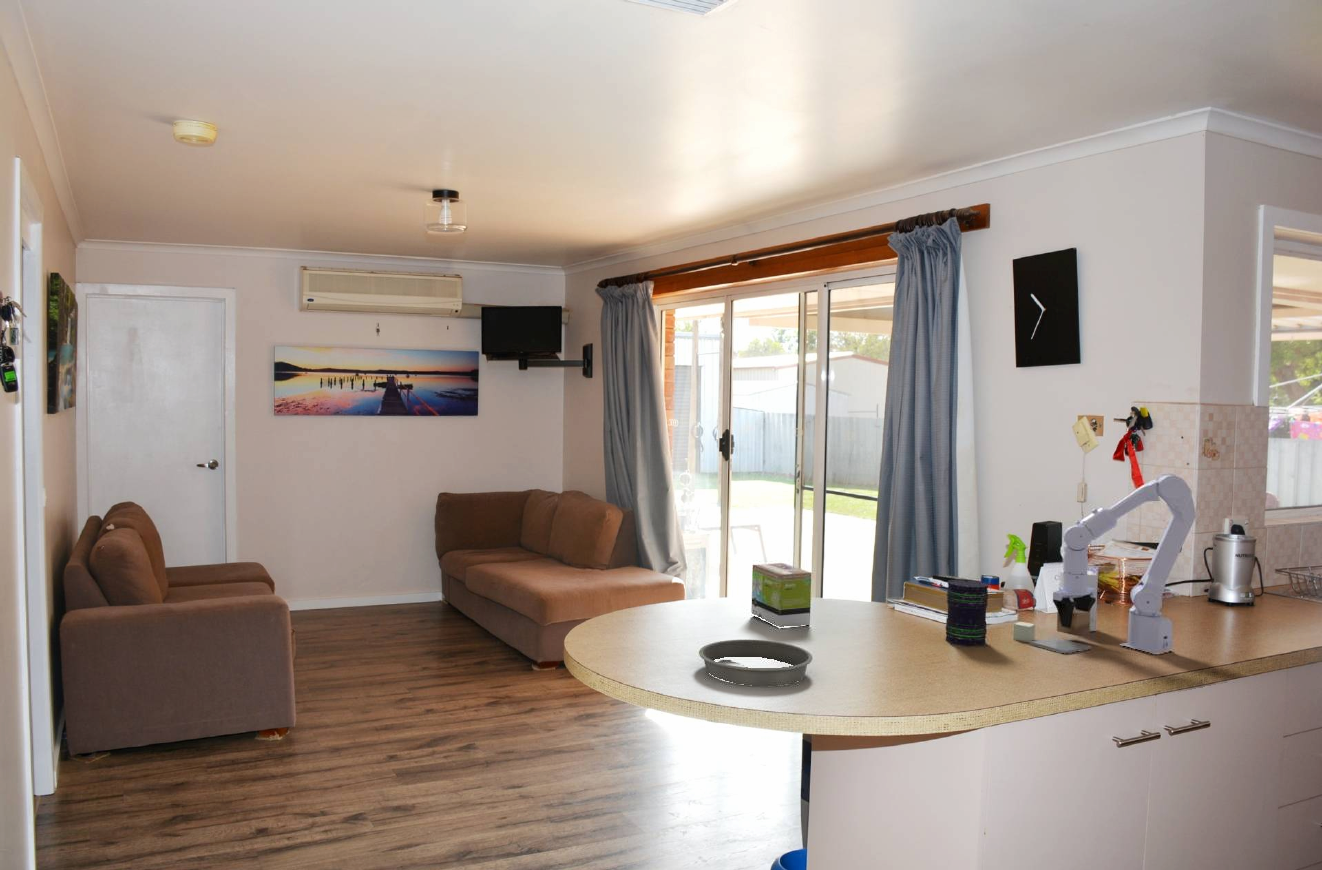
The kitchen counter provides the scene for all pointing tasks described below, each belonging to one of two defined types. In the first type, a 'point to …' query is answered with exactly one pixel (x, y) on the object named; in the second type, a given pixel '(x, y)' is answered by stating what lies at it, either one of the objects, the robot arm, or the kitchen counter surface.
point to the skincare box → (1093, 584)
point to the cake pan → (756, 649)
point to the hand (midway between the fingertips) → (1073, 625)
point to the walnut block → (1076, 623)
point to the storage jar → (966, 612)
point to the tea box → (781, 594)
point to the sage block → (1024, 631)
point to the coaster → (1059, 645)
